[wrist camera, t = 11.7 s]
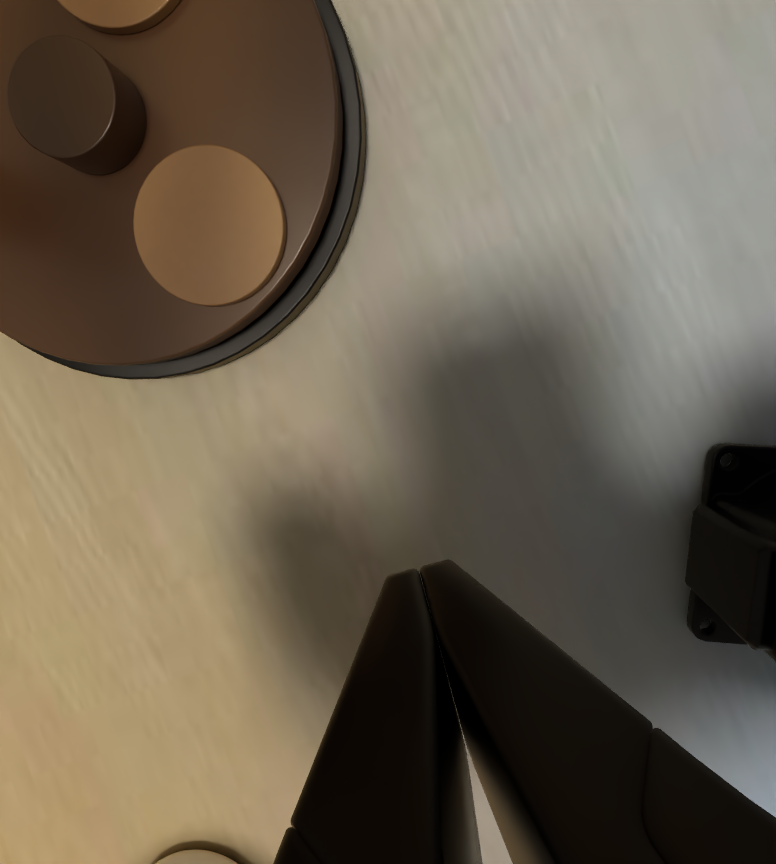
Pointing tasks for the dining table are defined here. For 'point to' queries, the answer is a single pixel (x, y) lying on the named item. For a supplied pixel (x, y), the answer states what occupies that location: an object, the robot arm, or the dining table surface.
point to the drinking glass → (195, 858)
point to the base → (318, 259)
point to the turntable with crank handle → (159, 169)
